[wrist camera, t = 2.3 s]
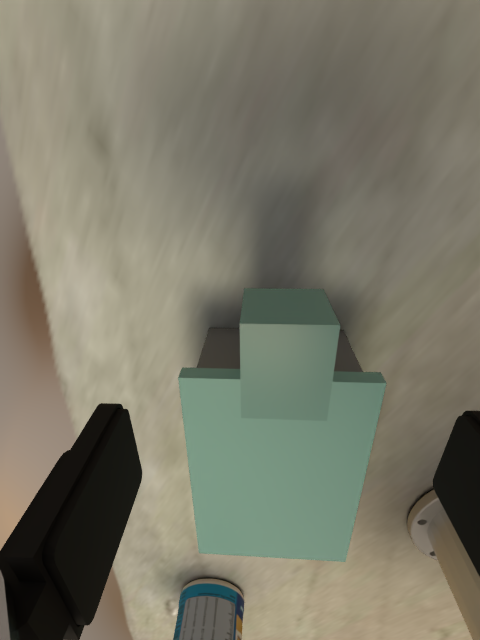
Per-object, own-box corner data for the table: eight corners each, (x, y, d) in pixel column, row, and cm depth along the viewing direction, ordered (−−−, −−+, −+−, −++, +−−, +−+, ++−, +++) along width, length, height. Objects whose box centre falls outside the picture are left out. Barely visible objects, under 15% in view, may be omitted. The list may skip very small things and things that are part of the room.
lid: (342, 547, 26) (355, 610, 22) (201, 539, 27) (191, 598, 23) (398, 289, 16) (436, 326, 13) (173, 287, 17) (149, 322, 13)
